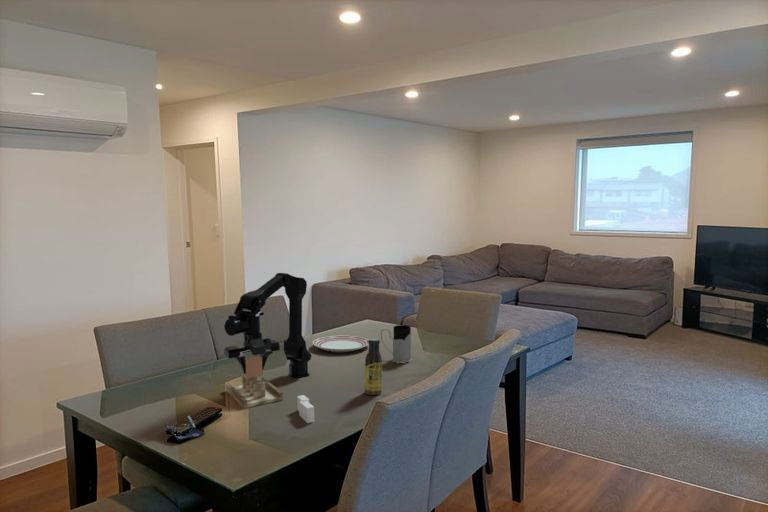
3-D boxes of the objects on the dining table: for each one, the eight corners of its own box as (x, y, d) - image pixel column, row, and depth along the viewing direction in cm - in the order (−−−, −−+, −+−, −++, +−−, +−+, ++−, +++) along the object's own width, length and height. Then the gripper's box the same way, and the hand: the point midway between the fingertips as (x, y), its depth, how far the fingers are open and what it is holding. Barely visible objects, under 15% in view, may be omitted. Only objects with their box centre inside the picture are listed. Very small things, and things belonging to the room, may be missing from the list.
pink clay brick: (260, 374, 192) (260, 355, 191) (262, 375, 190) (261, 356, 189) (244, 377, 188) (243, 358, 188) (246, 378, 187) (245, 359, 186)
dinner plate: (338, 337, 272) (338, 331, 272) (381, 345, 256) (381, 339, 256) (300, 349, 250) (300, 343, 250) (344, 359, 234) (344, 352, 234)
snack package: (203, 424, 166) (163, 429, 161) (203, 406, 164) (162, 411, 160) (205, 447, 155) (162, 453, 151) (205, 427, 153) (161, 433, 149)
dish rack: (262, 383, 202) (262, 368, 201) (282, 399, 185) (282, 382, 185) (226, 391, 194) (225, 374, 194) (243, 408, 178) (243, 390, 177)
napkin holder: (317, 427, 164) (317, 409, 163) (282, 425, 165) (282, 407, 165) (329, 408, 178) (329, 392, 178) (297, 407, 180) (296, 390, 179)
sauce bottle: (369, 397, 187) (368, 342, 185) (361, 391, 193) (361, 338, 191) (385, 394, 190) (385, 340, 188) (377, 388, 196) (377, 336, 194)
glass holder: (409, 364, 226) (409, 330, 224) (377, 361, 230) (377, 327, 229) (414, 358, 234) (414, 325, 232) (384, 355, 238) (384, 323, 237)
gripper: (232, 338, 176) (234, 383, 177) (285, 330, 186) (286, 373, 187) (223, 331, 185) (224, 374, 186) (273, 324, 195) (274, 365, 197)
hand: (253, 372), depth 189 cm, fingers closed on pink clay brick, 6 cm apart
